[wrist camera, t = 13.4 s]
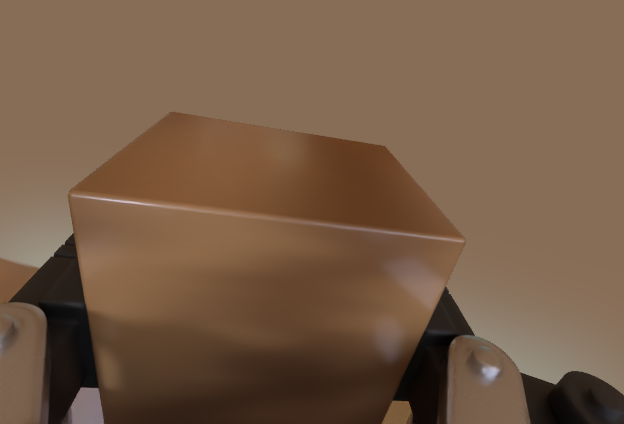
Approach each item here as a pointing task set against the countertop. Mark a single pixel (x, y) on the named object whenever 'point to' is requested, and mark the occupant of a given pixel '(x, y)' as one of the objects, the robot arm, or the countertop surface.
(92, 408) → the countertop surface
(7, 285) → the countertop surface
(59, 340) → the robot arm
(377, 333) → the eraser
